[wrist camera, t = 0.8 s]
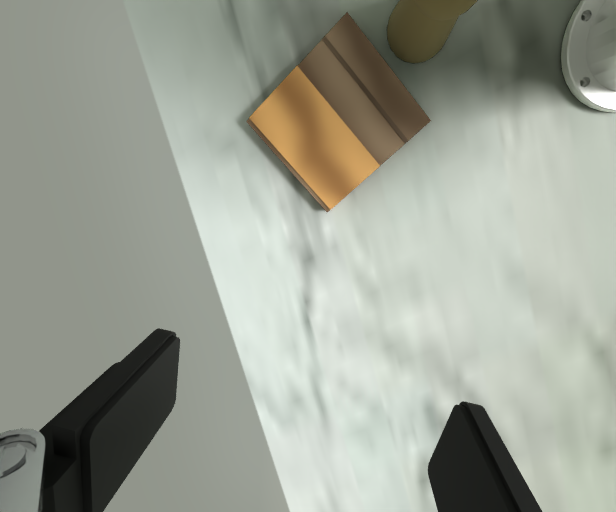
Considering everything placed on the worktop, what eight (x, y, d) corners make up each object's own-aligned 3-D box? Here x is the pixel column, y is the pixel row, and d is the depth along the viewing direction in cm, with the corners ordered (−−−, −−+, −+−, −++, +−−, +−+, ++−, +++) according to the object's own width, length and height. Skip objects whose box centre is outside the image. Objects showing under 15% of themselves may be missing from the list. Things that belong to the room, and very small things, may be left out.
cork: (417, -24, 29) (462, -129, 19) (463, 20, 30) (532, -56, 19) (374, 35, 31) (393, -30, 20) (418, 76, 32) (459, 34, 21)
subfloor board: (346, 19, 31) (347, 11, 29) (426, 122, 33) (431, 120, 31) (250, 123, 34) (245, 121, 33) (327, 210, 36) (327, 212, 35)
